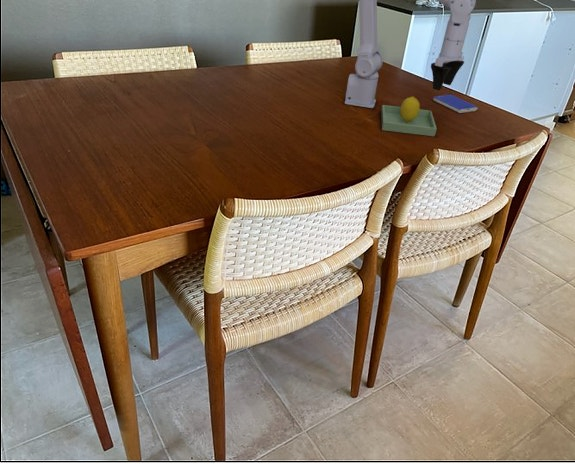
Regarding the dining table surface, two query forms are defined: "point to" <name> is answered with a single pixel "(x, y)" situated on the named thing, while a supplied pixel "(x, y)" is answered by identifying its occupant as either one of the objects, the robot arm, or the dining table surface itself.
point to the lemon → (409, 109)
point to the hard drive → (455, 103)
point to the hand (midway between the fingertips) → (441, 86)
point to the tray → (419, 125)
